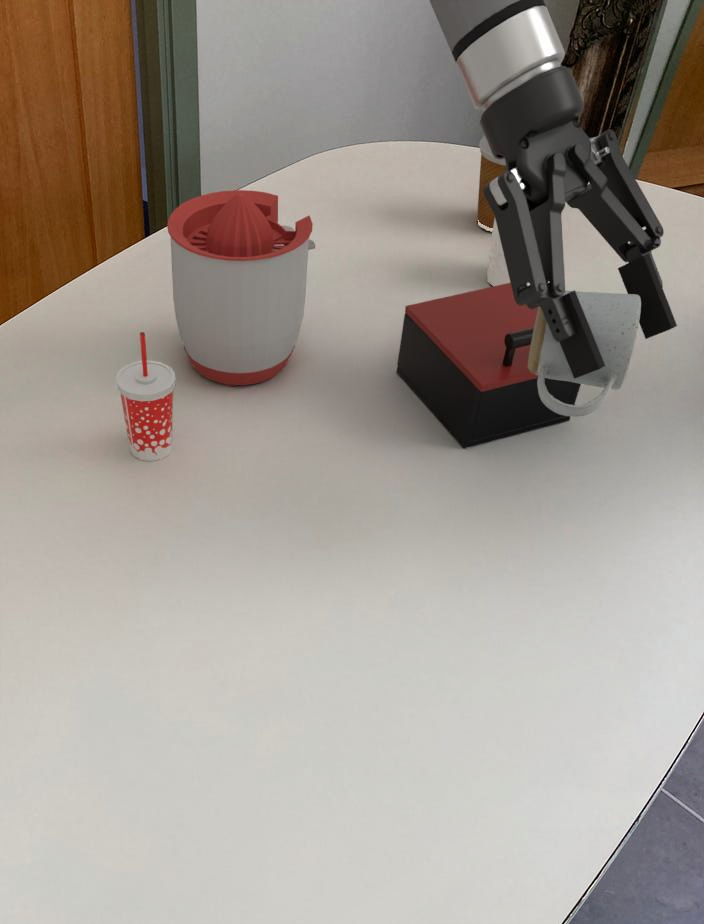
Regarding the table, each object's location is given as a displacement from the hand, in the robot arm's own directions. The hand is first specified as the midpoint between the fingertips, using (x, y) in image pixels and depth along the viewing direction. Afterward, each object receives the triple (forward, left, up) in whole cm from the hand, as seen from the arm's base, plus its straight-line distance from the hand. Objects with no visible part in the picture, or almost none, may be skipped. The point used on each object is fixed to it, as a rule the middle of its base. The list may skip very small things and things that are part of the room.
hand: (626, 351), depth 83 cm
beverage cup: (+44, +3, -21) cm, 49 cm away
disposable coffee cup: (+20, -62, -21) cm, 68 cm away
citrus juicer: (+41, -17, -21) cm, 49 cm away
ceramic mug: (+3, 0, -4) cm, 5 cm away
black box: (+13, -20, -21) cm, 31 cm away
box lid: (+13, -20, -13) cm, 27 cm away
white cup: (+15, -47, -21) cm, 53 cm away
